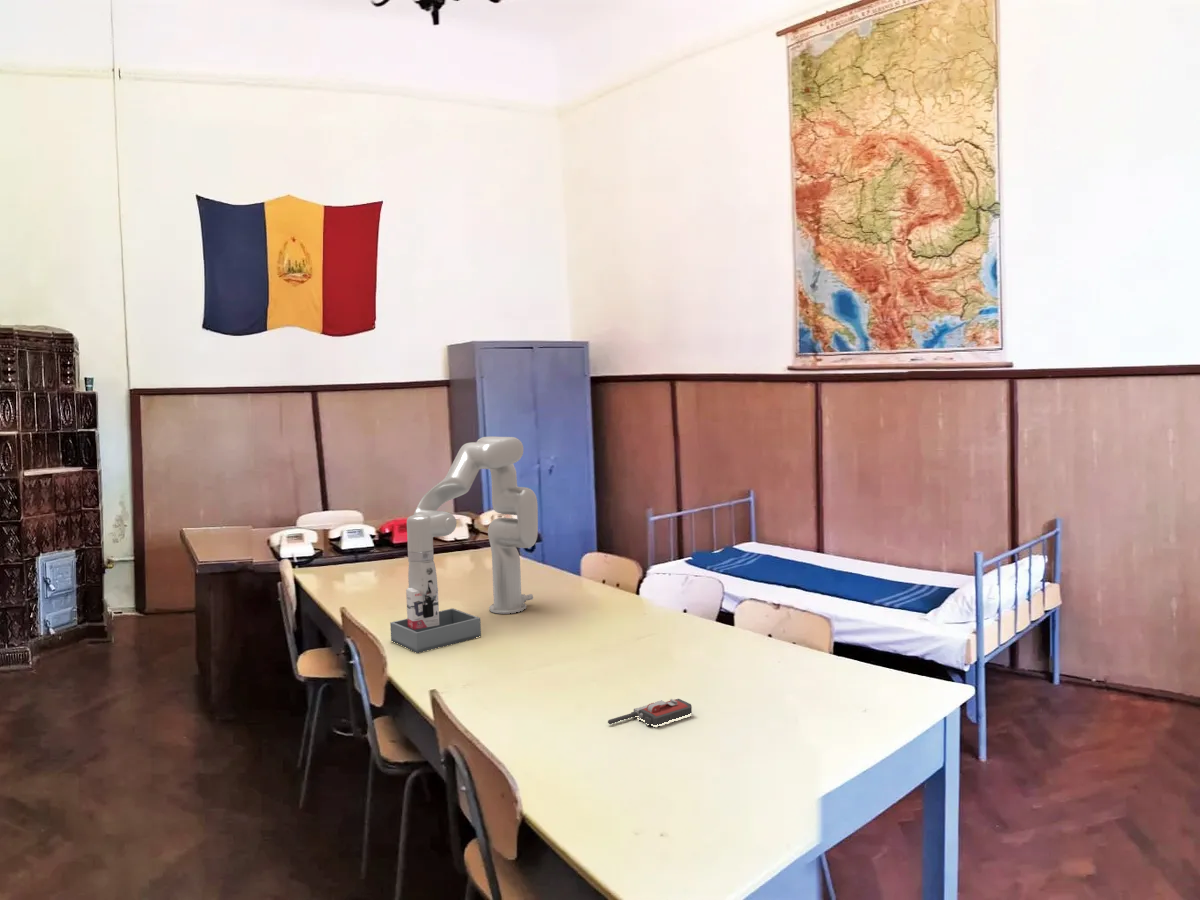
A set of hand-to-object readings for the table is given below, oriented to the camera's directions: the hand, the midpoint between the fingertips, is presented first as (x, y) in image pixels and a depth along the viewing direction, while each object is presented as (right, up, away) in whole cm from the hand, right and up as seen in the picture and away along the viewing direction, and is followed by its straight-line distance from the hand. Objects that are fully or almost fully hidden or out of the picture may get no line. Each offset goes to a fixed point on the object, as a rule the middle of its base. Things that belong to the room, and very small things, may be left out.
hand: (423, 614), depth 264 cm
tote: (+3, -8, +3) cm, 10 cm away
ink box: (0, -4, 0) cm, 4 cm away
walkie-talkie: (+65, -13, -63) cm, 92 cm away
